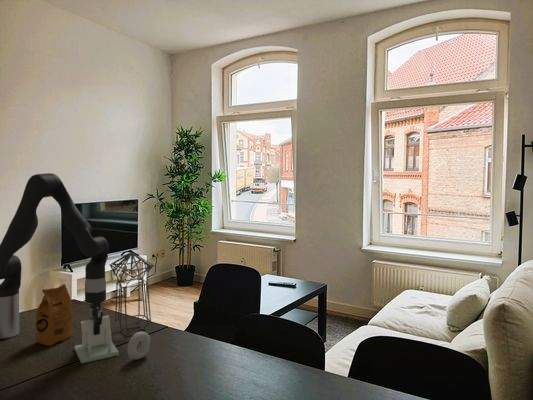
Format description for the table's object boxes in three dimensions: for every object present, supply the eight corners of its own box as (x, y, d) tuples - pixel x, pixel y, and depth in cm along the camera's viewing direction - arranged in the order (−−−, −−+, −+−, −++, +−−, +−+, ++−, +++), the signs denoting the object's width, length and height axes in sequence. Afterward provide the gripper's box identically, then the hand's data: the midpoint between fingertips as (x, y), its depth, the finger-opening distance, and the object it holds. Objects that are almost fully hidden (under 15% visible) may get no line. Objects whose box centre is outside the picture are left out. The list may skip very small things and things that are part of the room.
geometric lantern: (156, 334, 174) (155, 253, 171) (118, 342, 165) (117, 257, 162) (145, 322, 187) (143, 248, 184) (109, 330, 178) (107, 251, 175)
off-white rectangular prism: (83, 347, 155) (80, 321, 154) (110, 339, 160) (107, 315, 160) (84, 349, 153) (81, 323, 152) (111, 341, 158) (109, 316, 158)
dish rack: (74, 349, 156) (74, 327, 156) (109, 342, 163) (109, 322, 163) (81, 363, 144) (81, 339, 144) (118, 355, 152) (118, 332, 151)
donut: (131, 365, 144) (131, 337, 143) (124, 362, 145) (125, 335, 145) (152, 354, 152) (152, 328, 152) (145, 352, 154) (145, 327, 154)
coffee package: (31, 343, 161) (31, 288, 161) (58, 332, 173) (58, 282, 172) (49, 347, 158) (49, 291, 157) (75, 336, 169) (75, 284, 168)
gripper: (81, 286, 159) (82, 329, 160) (88, 294, 148) (88, 341, 148) (101, 284, 163) (102, 326, 164) (110, 291, 152) (110, 337, 152)
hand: (95, 333), depth 156 cm, fingers closed on off-white rectangular prism, 2 cm apart
